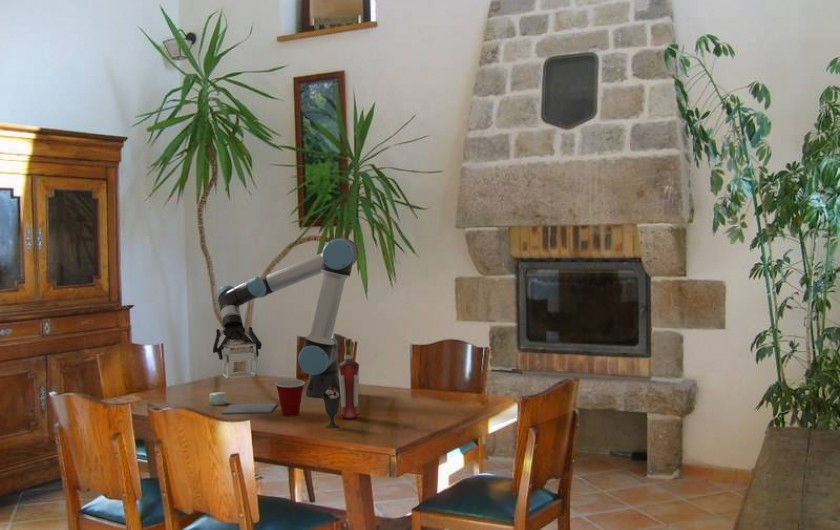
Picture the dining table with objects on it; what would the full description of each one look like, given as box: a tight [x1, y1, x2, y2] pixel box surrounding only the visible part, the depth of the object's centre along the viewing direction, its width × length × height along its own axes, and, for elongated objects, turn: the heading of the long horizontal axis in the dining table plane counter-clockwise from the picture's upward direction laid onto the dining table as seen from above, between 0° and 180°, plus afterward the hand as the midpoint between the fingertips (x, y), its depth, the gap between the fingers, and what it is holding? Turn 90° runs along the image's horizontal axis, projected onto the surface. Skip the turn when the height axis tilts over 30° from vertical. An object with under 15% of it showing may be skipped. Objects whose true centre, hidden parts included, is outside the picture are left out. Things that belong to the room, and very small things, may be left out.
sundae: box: [321, 382, 341, 429], centre depth 306 cm, size 7×7×15 cm
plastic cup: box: [274, 379, 306, 417], centre depth 329 cm, size 11×11×12 cm
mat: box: [221, 403, 278, 415], centre depth 341 cm, size 18×16×1 cm
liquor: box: [338, 338, 360, 420], centre depth 320 cm, size 7×7×28 cm
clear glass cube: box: [221, 341, 258, 380], centre depth 343 cm, size 11×11×12 cm
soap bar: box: [208, 391, 227, 406], centre depth 355 cm, size 6×6×4 cm
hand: (240, 364), depth 340 cm, fingers closed on clear glass cube, 11 cm apart
